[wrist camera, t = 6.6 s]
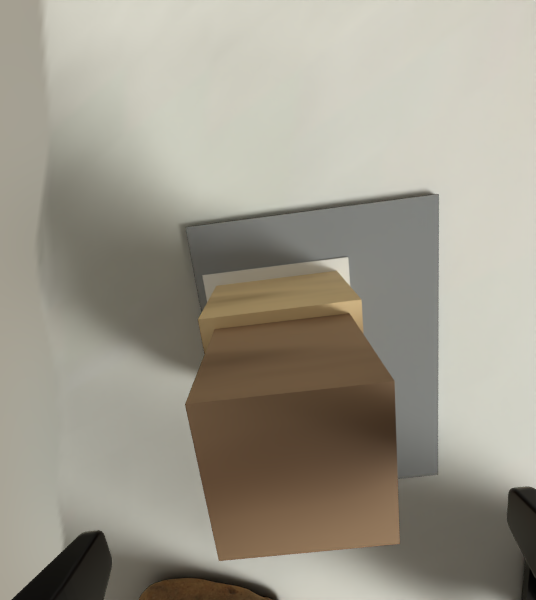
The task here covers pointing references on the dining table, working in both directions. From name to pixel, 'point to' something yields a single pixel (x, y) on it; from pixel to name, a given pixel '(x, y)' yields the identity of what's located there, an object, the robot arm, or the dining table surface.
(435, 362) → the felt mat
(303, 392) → the walnut cube
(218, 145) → the dining table surface
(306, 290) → the oak base block
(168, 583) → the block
